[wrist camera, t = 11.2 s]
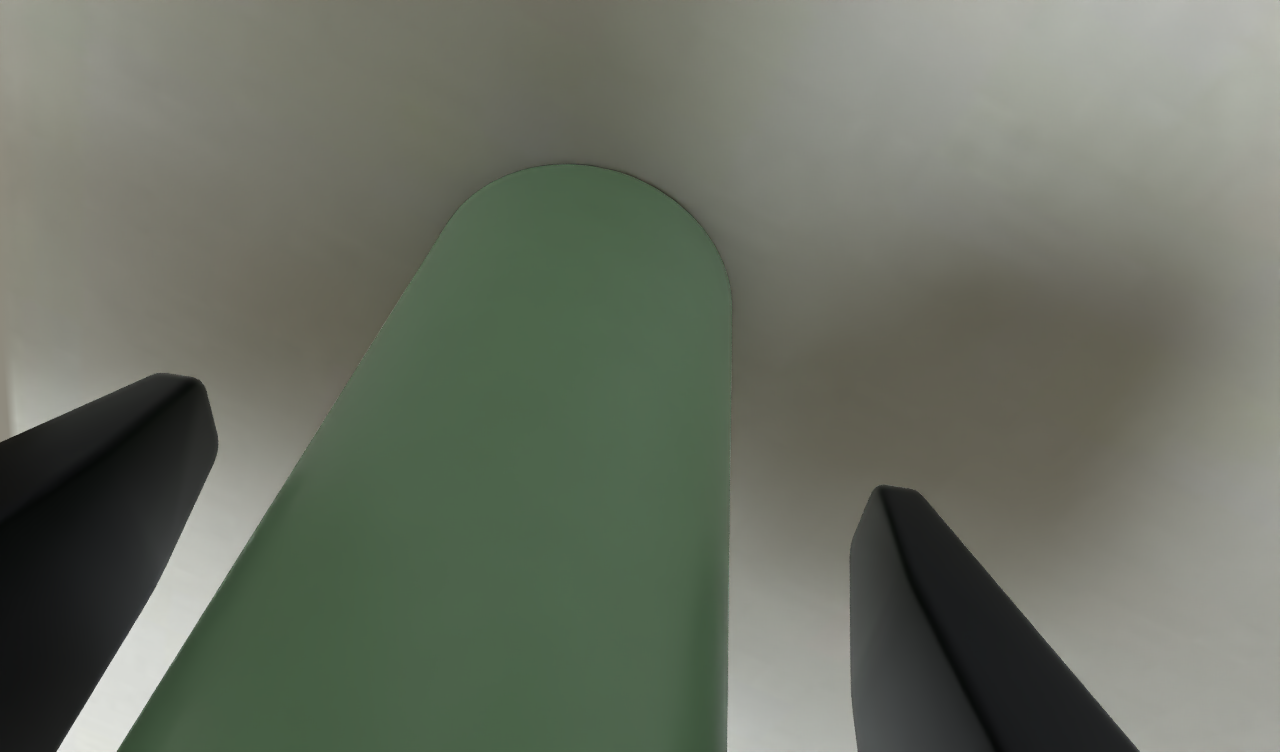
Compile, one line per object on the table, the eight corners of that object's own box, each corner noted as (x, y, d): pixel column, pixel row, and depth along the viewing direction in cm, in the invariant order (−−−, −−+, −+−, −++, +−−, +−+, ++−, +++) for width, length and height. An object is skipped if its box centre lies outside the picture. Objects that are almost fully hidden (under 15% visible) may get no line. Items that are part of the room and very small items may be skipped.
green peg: (703, 440, 12) (641, 1727, 4) (436, 398, 12) (-132, 1603, 4) (760, 189, 10) (858, 2083, 2) (427, 137, 10) (-927, 1797, 2)
